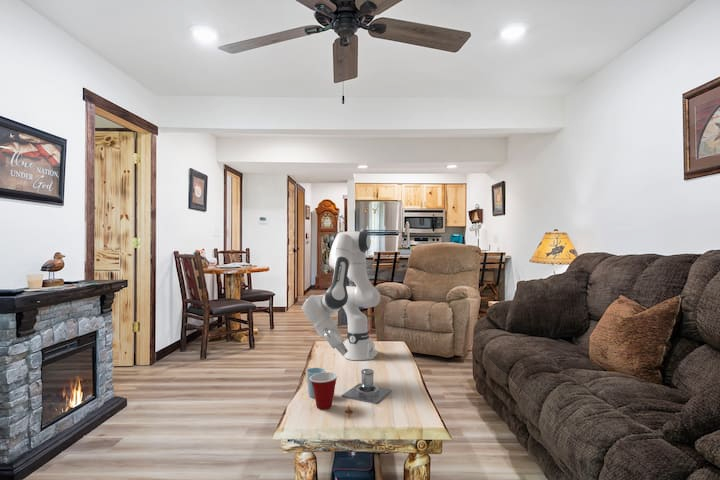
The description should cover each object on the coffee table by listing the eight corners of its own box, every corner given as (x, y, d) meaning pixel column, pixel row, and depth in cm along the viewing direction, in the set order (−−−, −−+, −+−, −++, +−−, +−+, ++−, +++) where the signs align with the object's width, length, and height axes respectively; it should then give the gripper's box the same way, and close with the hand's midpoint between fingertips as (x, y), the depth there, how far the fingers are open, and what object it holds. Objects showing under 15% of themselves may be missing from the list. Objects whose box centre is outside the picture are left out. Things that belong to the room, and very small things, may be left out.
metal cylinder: (364, 389, 172) (364, 368, 172) (375, 391, 170) (375, 369, 170) (359, 393, 168) (359, 371, 168) (370, 395, 165) (370, 373, 165)
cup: (326, 398, 164) (326, 372, 164) (307, 400, 162) (307, 374, 162) (323, 391, 171) (323, 367, 171) (305, 393, 169) (305, 368, 169)
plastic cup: (310, 401, 160) (310, 371, 160) (337, 400, 161) (337, 370, 161) (308, 413, 149) (308, 380, 149) (337, 412, 150) (337, 380, 150)
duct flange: (359, 384, 179) (359, 379, 180) (392, 390, 172) (392, 385, 172) (341, 396, 165) (341, 391, 165) (376, 404, 158) (376, 398, 158)
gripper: (329, 324, 170) (349, 351, 167) (335, 323, 190) (353, 347, 187) (317, 333, 169) (337, 360, 167) (324, 331, 189) (342, 355, 187)
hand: (345, 353), depth 177 cm, fingers open, 8 cm apart
